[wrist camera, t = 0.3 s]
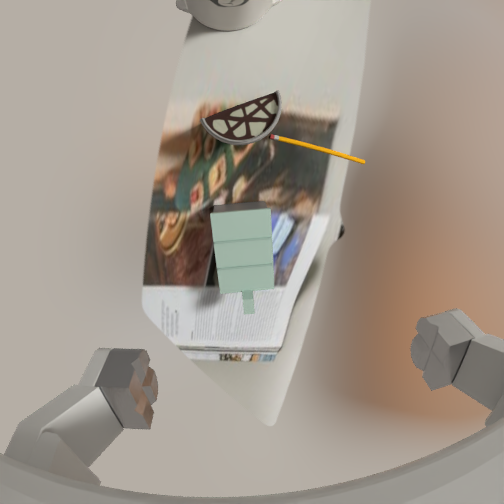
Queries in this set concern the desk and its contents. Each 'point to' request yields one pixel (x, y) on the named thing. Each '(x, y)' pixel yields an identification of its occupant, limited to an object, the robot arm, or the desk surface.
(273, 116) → the food container
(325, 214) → the desk surface
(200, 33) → the desk surface
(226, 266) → the lid
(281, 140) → the pencil
